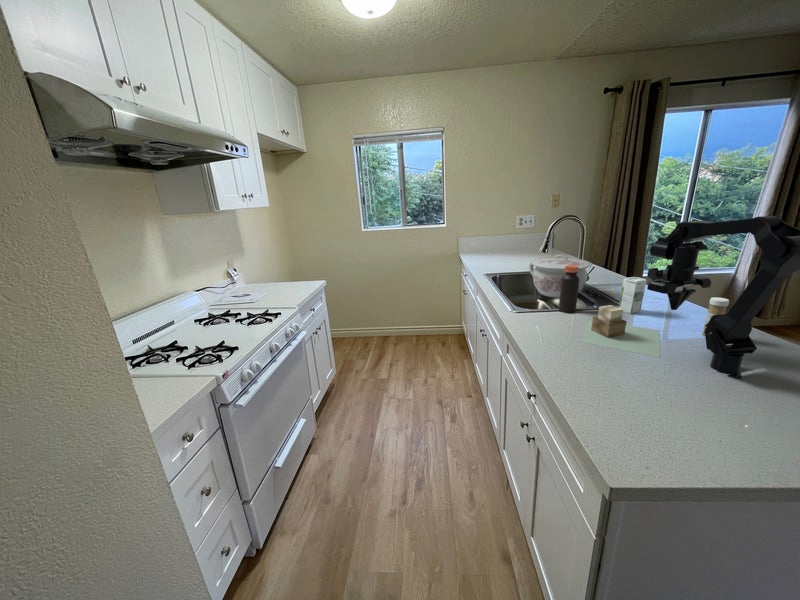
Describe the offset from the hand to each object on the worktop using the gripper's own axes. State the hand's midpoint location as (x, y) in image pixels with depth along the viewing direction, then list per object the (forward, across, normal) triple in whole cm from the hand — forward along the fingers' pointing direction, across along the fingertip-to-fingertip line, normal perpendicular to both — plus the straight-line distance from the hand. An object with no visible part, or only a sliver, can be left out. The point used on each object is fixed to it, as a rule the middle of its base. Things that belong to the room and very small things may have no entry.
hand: (673, 309), depth 103 cm
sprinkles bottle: (+12, -19, +1) cm, 22 cm away
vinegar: (+12, +7, -38) cm, 40 cm away
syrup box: (+12, -15, -27) cm, 34 cm away
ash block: (+7, +12, -12) cm, 18 cm away
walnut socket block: (+11, +12, -12) cm, 20 cm away
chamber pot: (+12, -6, -59) cm, 61 cm away
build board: (+12, +10, -8) cm, 18 cm away
